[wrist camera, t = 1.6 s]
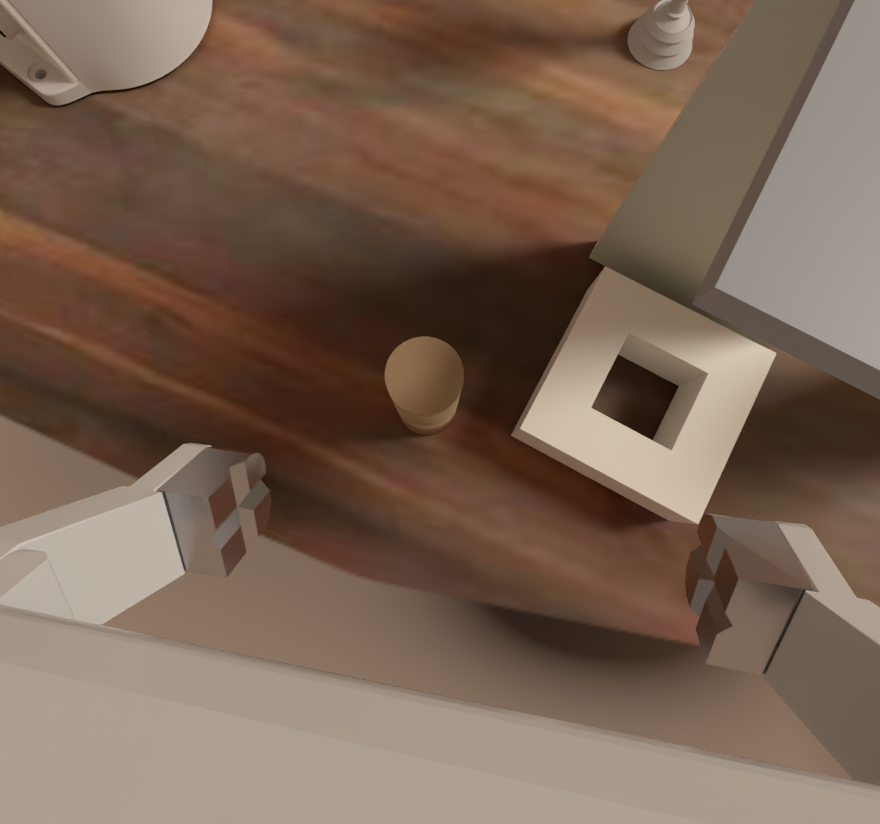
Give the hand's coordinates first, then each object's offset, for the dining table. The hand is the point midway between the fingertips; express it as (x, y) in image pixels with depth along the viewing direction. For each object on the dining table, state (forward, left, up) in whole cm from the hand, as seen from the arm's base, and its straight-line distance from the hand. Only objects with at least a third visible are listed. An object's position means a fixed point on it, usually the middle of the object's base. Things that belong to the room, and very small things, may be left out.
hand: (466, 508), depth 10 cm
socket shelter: (+8, +14, -26) cm, 30 cm away
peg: (-4, +5, -26) cm, 27 cm away
